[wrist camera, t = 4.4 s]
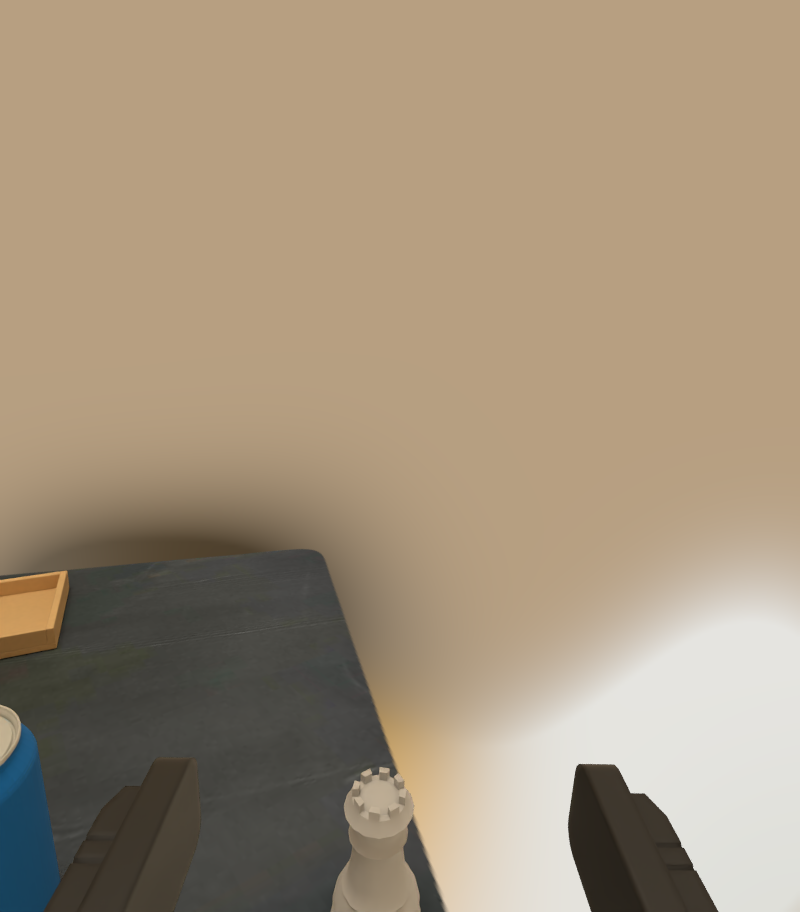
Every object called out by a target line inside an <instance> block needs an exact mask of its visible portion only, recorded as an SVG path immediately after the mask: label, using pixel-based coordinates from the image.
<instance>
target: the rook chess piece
mask: <svg viewBox="0 0 800 912" xmlns="http://www.w3.org/2000/svg"><path fill="white" fill-rule="evenodd" d="M389 772H390V769H388V768H382V767H380V771H379V775H375V776H372V773H371V771H370V769H368V770H366V771H364V772H363V773H361V781H360V782H357V781H355V782H354V785H353V788H352V789H351V791H350V792H349V793H348V794H347V797H346V800H345V804H344V810H345V817H346V819H347V821H348V822H349V824H350V827H349V831H348V832H349V838H350V843H351V844H352V846H353V847H352V853H351V858H350V860H349V862H348V863H347V864H346V866H345V868H344V869H343V870H342V872H341V873H340V874H339V876H338V879H337V882H336V886H335V889H334V893H333V897H332V898H333V904H332V908H331V912H420V910H421V909H420V905H419V900H420V895H419V891H418V887H417V883H416V879H415V876H414V874H413V872H412V871H411V870H410V868H409V866H408V864H407V863H406V862H405V859H404V851H403V846H404V844H405V843H406V841H407V835H408V829H407V825H408V823H409V822H410V820H411V819H412V816H413V810H414V804H413V800H412V797H411V794H410V793H409V792H408V790H407V789H406V788H405V787H404V780H403V778H402V777H401V776H400V775H399V774H397V775H396V776H395V777H394V779H393V778H391V777H390V776H389Z"/></svg>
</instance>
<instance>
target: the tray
mask: <svg viewBox="0 0 800 912" xmlns="http://www.w3.org/2000/svg"><path fill="white" fill-rule="evenodd" d="M68 592H69V581H68V574H67V571H61V572H53V573H46V574H40V575H33V576H26V577H19V578H12V579H5V580H0V659H3V658H8V657H13V656H18V655H23V654H28V653H34V652H39V651H44V650H49V649H54V648H57V643H58V639H59V634H60V629H61V625H62V620H63V615H64V611H65V606H66V601H67V597H68Z"/></svg>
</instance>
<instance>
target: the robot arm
mask: <svg viewBox="0 0 800 912" xmlns="http://www.w3.org/2000/svg"><path fill="white" fill-rule="evenodd" d="M568 821H569V822H568V831H569V840H570V846H571V851H572V854H573V858H574V861H575V864H576V867H577V870H578V873H579V876H580V879H581V882H582V885H583V888H584V891H585V894H586V897H587V900H588V903H589V906H590V909H591V912H718V910H717V908H716V907H715V905H714V903H713V901H712V899H711V898H710V896H709V894H708V892H707V890H706V888H705V886H704V884H703V882H702V881H701V879H700V877H699V875H698V873H697V871H694V869H693V864H692V862H691V860H690V859H689V857H688V855H687V853H686V851H685V849H684V848H682V847H681V842H680V840H679V838H678V836H677V834H676V833H675V831H674V829H673V827H672V825H671V823H670V822H669V820H668V818H667V816H666V815H665V814H664V813H663V812H662V811H661V810H660V809H659V808H658V807H657V806H656V805H655V804H654V803H653V802H652V801H651V800H650V799H649V798H648V797H647V796H646V795H645V794H633V793H630V791H629V789H628V787H627V785H626V783H625V781H624V779H623V777H622V775H621V773H620V771H619V769H618V768H617V767H616V766H615V765H606V764H602V765H601V764H597V765H596V764H579V765H578V766H577V768H576V771H575V778H574V785H573V792H572V799H571V806H570V812H569V820H568ZM200 825H201V808H200V795H199V782H198V770H197V762H196V759H195V758H173V757H158V758H157V759H156V760H155V761H154V762H153V764H152V766H151V768H150V770H149V772H148V773H147V775H146V777H145V779H144V781H143V783H142V785H141V786H125V787H124V788H123V789H122V790H121V791H120V792H119V793H118V794H117V795H116V796H114V797H113V798H112V799H111V800H110V801H109V802H108V803H107V804H106V805H105V806H104V807H103V808H102V809H101V811H100V813H99V815H98V816H97V818H96V820H95V822H94V823H93V825H92V827H91V829H90V830H89V832H88V834H87V837H86V840H85V841H83V843H82V844H81V846H80V848H79V850H78V851H77V853H76V855H75V857H74V861H73V863H72V864H70V866H69V867H68V869H67V871H66V873H65V874H64V876H63V878H62V880H61V881H60V883H59V885H58V887H57V888H56V890H55V892H54V894H53V895H52V897H51V899H50V901H49V902H48V904H47V906H46V908H45V909H44V911H43V912H174V909H175V906H176V903H177V900H178V898H179V895H180V892H181V889H182V886H183V884H184V881H185V878H186V875H187V872H188V870H189V867H190V864H191V861H192V858H193V855H194V853H195V850H196V846H197V842H198V838H199V832H200Z"/></svg>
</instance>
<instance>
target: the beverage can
mask: <svg viewBox="0 0 800 912" xmlns="http://www.w3.org/2000/svg"><path fill="white" fill-rule="evenodd" d="M59 883H60V876H59V870H58V864H57V858H56V852H55V847H54V841H53V835H52V829H51V823H50V817H49V811H48V806H47V800H46V794H45V788H44V782H43V776H42V771H41V765H40V759H39V753H38V747H37V741H36V739H35V737H34V735H33V734H32V732H31V731H30V730H29V729H28V728H27V727H26V726H24V725H23V724H22V723H21V722H20V720H19V717H18V715H17V714H16V713H15V712H14V711H13V710H11V709H10V708H7V707H5V706H2V705H0V912H43V911H44V909H45V908H46V906H47V904H48V902H49V901H50V899H51V897H52V895H53V894H54V892H55V890H56V888H57V887H58V885H59Z"/></svg>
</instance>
